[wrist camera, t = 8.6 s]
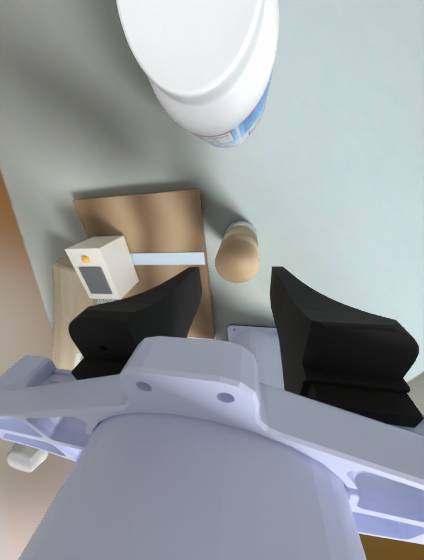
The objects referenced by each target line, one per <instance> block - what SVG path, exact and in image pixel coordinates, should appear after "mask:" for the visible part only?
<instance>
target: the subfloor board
mask: <svg viewBox="0 0 424 560" xmlns="http://www.w3.org/2000/svg"><path fill="white" fill-rule="evenodd" d="M73 203H74V205H75V207H76V209H77V212H78V214H79V216H80V219H81V221H82V223H83V226H84V228H85V230H86V233H87V235H88V237H89V238H92V237H99V236H124V238H125V241H126V244H127V247H128V250H129V253H130V256H131V259H132V262H133V265H134V268H135V271H136V274H137V277H138V280H139V281H138V282H137V283H136V284H135V285H134V287H133V288H132V289H131V290H130V291H129V292H128V293H127V294H126V295H125V296H124V297H123V298H122V299H124V298H128V297H131V296H134V295H137V294H139V293H142V292H145V291H147V290H150V289H152V288H154V287H156V286H158V285H160V284H162V283H164V282H165V281H167V280H169V279H171V278H172V277H174V276H176V275H177V274H179V273H180V272H182V271H184V270H185V269H187V268H189V267H199V270H200V278H201V285H202V297H201V301H200V304H199V307H198V310H197V312H196V315H195V317H194V319H193V322H192V324H191V327H190V329H189V332H188V335H187V337H195V338H209V339H214V337H215V326H214V316H213V307H212V298H211V289H210V280H209V271H208V262H207V253H206V243H205V234H204V225H203V216H202V207H201V198H200V189H191V190H179V191H168V192H156V193H145V194H133V195H122V196H110V197H98V198H87V199H78V200H73ZM115 300H116V301H117V300H120V299H115Z"/></svg>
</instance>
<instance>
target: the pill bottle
mask: <svg viewBox="0 0 424 560" xmlns="http://www.w3.org/2000/svg"><path fill="white" fill-rule="evenodd" d="M116 3H117V8H118V13H119V17H120V21H121V25H122V28H123V31H124V34H125V37H126V39H127V42H128V44H129V47H130V49H131V51H132V53H133V55H134V57H135V58H136V60H137V62H138V63H139V65H140V67H141V68H142V70H143V71H144V72H145V73H146V75H147V76H148V78H149V81H150V84H151V86H152V89H153V91H154V93H155V95H156V97H157V99H158V101H159V102H160V104H161V106H162V107H163V109H164V110H165V111H166V112H167V114H168V115H169V116H170V117H171V118H172V119H173V120H174V121H175V122H176V123H177V124H179V125H180V126H181V127H183V128H184V129H185V130H187V131H189V132H191V133H192V134H194V135H196V136H198V137H199V138H201V139H203V140H204V141H206V142H208V143H209V144H211V145H213V146H216V147H220V148H229V147H233V146H236V145H238V144H240V143H242V142H243V141H245V140H246V139H247V138H248V137H249V136H250V135H251V134H252V133H253V131H254V130H255V129H256V127H257V125H258V124H259V122H260V119H261V117H262V114H263V111H264V108H265V104H266V100H267V95H268V90H269V85H270V80H271V76H272V71H273V66H274V61H275V56H276V50H277V42H278V33H279V5H278V0H116Z"/></svg>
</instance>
